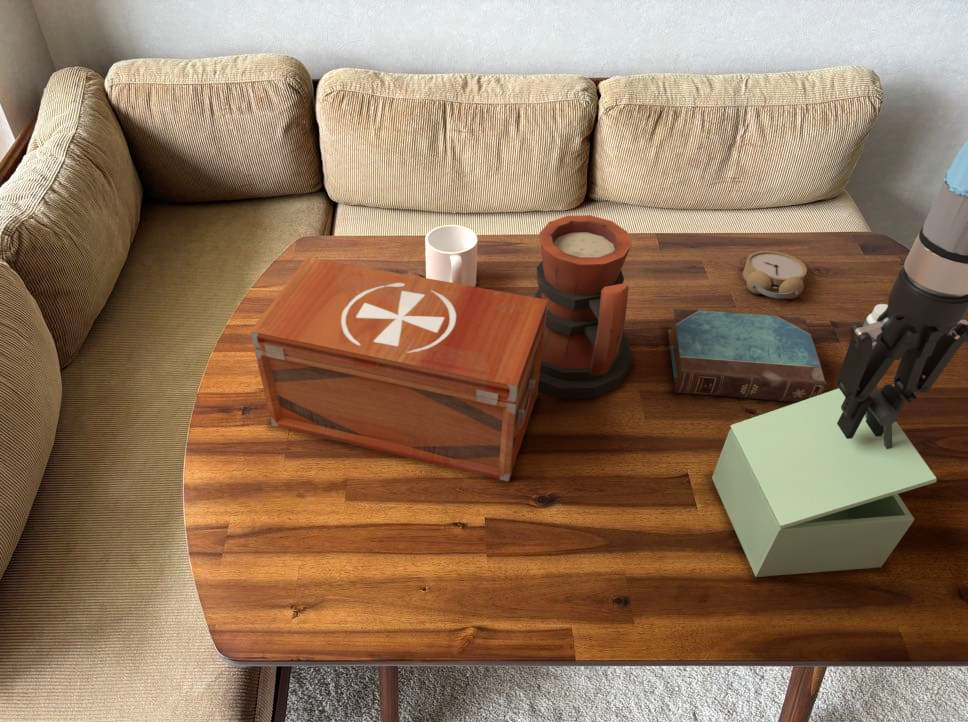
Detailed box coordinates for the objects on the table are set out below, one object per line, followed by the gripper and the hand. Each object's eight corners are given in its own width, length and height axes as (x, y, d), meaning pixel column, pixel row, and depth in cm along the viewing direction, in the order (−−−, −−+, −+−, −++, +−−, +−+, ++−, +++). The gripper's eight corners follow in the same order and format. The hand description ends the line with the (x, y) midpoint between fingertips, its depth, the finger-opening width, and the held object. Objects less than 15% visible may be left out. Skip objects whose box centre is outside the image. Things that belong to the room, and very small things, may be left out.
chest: (824, 469, 118) (850, 420, 110) (881, 567, 105) (914, 519, 98) (711, 478, 117) (729, 429, 109) (755, 577, 105) (779, 529, 97)
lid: (866, 382, 105) (863, 343, 100) (936, 482, 92) (938, 442, 87) (731, 428, 109) (721, 392, 104) (781, 529, 97) (773, 494, 92)
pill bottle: (859, 356, 136) (878, 319, 130) (850, 339, 139) (867, 302, 134) (886, 356, 136) (906, 319, 130) (876, 339, 139) (895, 302, 133)
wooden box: (320, 348, 140) (306, 255, 126) (539, 393, 131) (550, 298, 117) (269, 425, 127) (247, 331, 113) (510, 482, 117) (519, 387, 103)
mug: (423, 271, 157) (422, 227, 150) (471, 266, 158) (472, 222, 151) (431, 308, 148) (430, 263, 141) (482, 303, 149) (484, 258, 142)
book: (675, 394, 130) (682, 372, 127) (667, 329, 142) (673, 307, 139) (816, 406, 128) (827, 384, 124) (796, 338, 140) (805, 316, 136)
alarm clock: (805, 255, 154) (812, 286, 142) (797, 277, 156) (803, 310, 145) (746, 246, 156) (748, 276, 144) (740, 268, 159) (741, 300, 147)
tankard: (599, 310, 147) (619, 194, 130) (660, 398, 130) (693, 277, 112) (490, 330, 143) (495, 214, 126) (537, 423, 126) (552, 303, 109)
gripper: (992, 253, 85) (905, 404, 101) (849, 262, 84) (785, 413, 101) (1036, 293, 79) (936, 446, 96) (883, 304, 79) (809, 456, 95)
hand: (859, 429), depth 98 cm, fingers open, 3 cm apart
